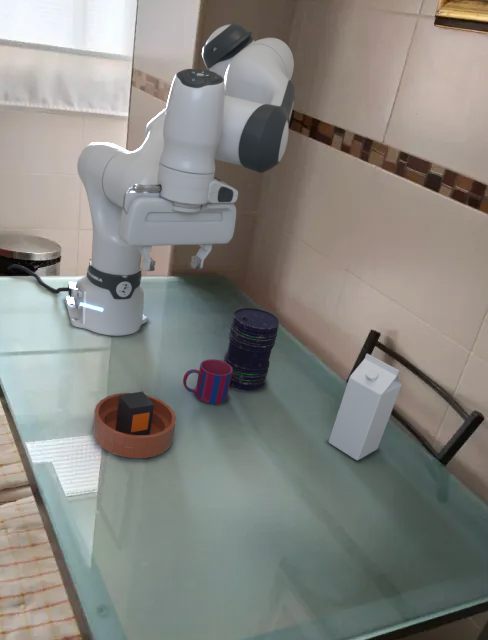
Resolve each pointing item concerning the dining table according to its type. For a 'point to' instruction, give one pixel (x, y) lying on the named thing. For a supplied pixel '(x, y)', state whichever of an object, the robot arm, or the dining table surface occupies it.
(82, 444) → the dining table surface
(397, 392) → the milk carton
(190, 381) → the dining table surface
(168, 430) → the bowl
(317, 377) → the dining table surface
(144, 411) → the box
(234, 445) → the dining table surface
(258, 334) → the dark blue cylinder
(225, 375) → the mug
